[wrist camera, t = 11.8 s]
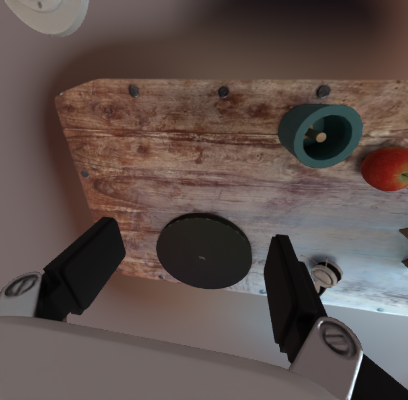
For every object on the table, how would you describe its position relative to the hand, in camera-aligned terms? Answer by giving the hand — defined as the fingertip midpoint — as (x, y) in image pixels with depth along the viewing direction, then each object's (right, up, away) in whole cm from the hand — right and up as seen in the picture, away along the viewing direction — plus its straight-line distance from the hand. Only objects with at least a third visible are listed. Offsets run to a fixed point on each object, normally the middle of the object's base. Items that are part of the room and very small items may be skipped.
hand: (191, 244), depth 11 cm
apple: (+37, +11, +27) cm, 47 cm away
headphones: (+34, -15, +42) cm, 56 cm away
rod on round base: (+21, +17, +26) cm, 37 cm away
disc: (+1, -14, +47) cm, 49 cm away
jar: (+21, +17, +26) cm, 38 cm away
